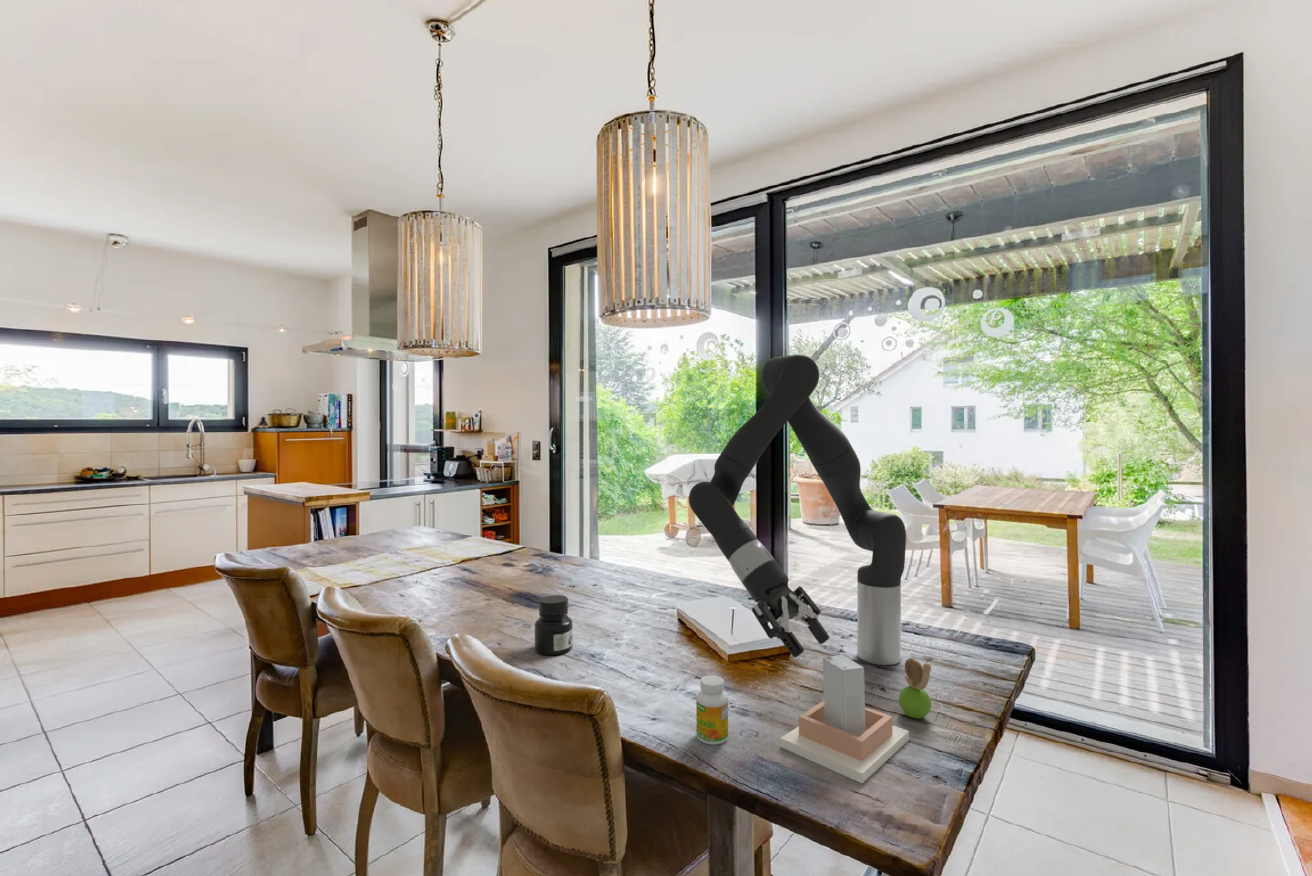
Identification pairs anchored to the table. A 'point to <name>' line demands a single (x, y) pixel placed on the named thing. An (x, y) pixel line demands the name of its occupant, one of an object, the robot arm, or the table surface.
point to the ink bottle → (553, 626)
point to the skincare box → (844, 694)
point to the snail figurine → (916, 689)
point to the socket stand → (846, 743)
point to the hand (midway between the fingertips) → (813, 647)
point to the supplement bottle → (712, 711)
